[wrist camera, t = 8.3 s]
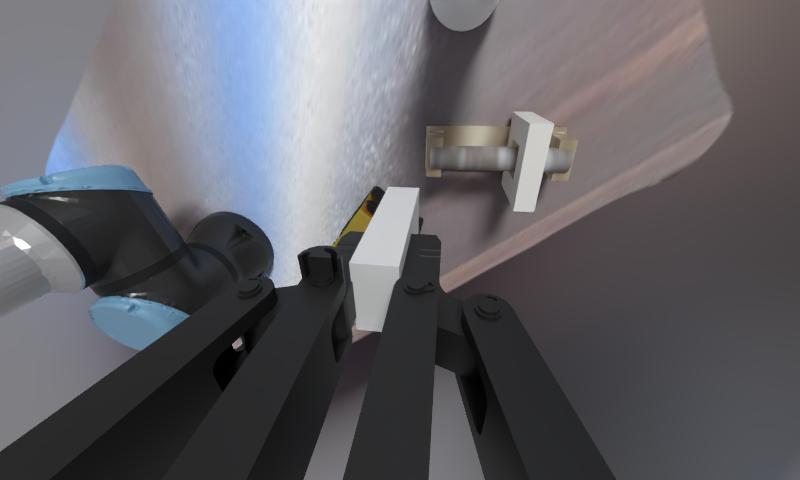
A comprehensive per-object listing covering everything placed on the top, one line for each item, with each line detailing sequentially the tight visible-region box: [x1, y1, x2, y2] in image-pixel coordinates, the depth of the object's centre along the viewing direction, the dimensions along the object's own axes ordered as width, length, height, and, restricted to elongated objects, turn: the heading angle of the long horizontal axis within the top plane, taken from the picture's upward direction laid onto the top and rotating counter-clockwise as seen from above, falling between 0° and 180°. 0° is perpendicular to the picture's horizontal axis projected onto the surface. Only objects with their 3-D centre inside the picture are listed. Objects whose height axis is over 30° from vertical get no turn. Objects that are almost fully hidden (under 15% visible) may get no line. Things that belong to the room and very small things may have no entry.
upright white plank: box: [501, 112, 554, 212], centre depth 38 cm, size 2×10×10 cm, turn 1°
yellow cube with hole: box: [332, 186, 423, 247], centre depth 48 cm, size 10×10×10 cm
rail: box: [425, 126, 579, 181], centre depth 40 cm, size 19×6×8 cm, turn 91°
